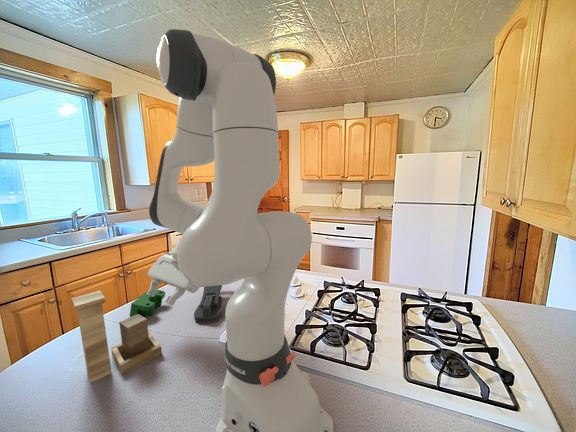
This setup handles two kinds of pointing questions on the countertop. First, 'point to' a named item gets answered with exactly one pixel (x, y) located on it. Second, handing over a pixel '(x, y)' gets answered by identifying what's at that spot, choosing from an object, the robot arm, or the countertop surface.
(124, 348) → the wooden block
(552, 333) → the countertop surface
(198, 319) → the zipper pull
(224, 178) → the robot arm
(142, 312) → the clamp
